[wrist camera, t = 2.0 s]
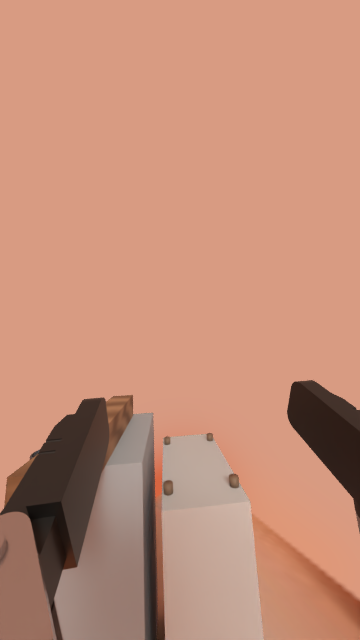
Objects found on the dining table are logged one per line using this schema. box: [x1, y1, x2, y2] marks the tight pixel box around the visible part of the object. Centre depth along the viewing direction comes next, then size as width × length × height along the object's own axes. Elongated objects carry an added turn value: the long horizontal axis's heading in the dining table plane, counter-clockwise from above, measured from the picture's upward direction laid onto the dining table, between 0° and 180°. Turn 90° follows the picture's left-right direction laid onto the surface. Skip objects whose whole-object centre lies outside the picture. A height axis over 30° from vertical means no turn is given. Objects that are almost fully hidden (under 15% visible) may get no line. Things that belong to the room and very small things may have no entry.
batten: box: [4, 395, 133, 507], centre depth 27 cm, size 28×4×4 cm, turn 4°
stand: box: [55, 413, 264, 640], centre depth 29 cm, size 20×24×34 cm
